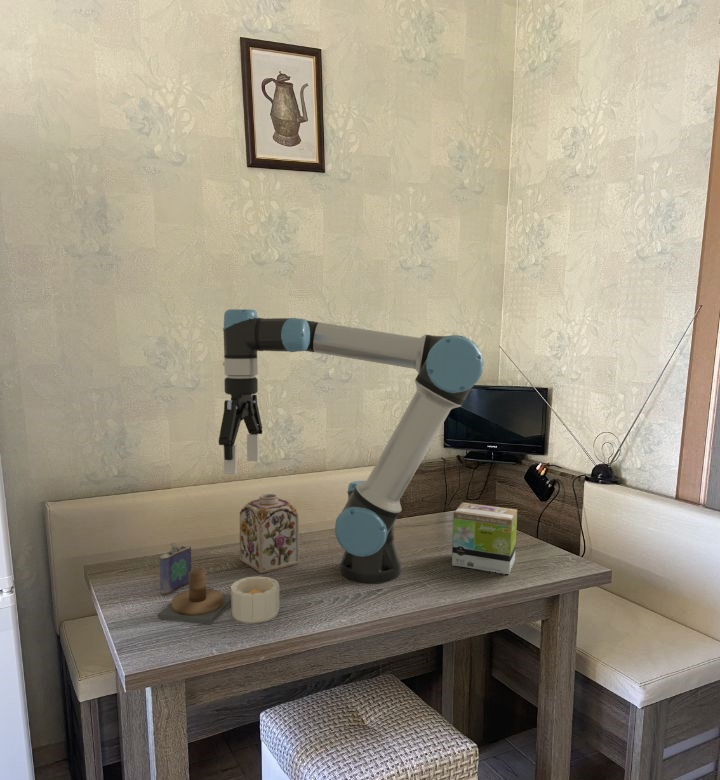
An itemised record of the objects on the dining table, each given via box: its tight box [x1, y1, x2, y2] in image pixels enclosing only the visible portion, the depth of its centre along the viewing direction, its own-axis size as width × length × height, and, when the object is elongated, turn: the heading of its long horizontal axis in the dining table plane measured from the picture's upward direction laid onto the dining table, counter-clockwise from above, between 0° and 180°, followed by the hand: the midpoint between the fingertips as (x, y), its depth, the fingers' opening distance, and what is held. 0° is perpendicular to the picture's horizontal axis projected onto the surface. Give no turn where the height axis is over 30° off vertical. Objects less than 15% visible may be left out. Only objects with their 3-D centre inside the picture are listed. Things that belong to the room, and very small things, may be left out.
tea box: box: [451, 502, 518, 575], centre depth 163 cm, size 15×10×15 cm, turn 68°
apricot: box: [249, 590, 262, 594], centre depth 135 cm, size 4×4×4 cm
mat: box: [158, 593, 231, 625], centre depth 137 cm, size 12×12×1 cm
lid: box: [171, 568, 224, 616], centre depth 137 cm, size 11×11×7 cm
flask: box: [159, 542, 192, 596], centre depth 147 cm, size 9×3×11 cm, turn 151°
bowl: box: [230, 576, 280, 625], centre depth 135 cm, size 10×10×6 cm
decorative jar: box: [239, 493, 300, 574], centre depth 163 cm, size 12×12×18 cm
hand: (242, 467), depth 147 cm, fingers open, 13 cm apart
